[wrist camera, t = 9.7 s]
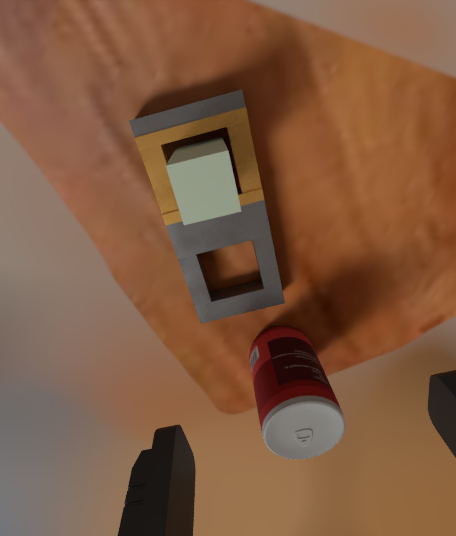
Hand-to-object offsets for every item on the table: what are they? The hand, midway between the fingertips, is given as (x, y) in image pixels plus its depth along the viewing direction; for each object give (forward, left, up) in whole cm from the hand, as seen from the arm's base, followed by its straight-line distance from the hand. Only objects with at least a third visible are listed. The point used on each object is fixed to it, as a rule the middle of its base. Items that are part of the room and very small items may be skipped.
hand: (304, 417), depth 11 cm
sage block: (+2, -5, -23) cm, 24 cm away
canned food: (-1, +18, -23) cm, 30 cm away
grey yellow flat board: (+2, 0, -23) cm, 23 cm away
